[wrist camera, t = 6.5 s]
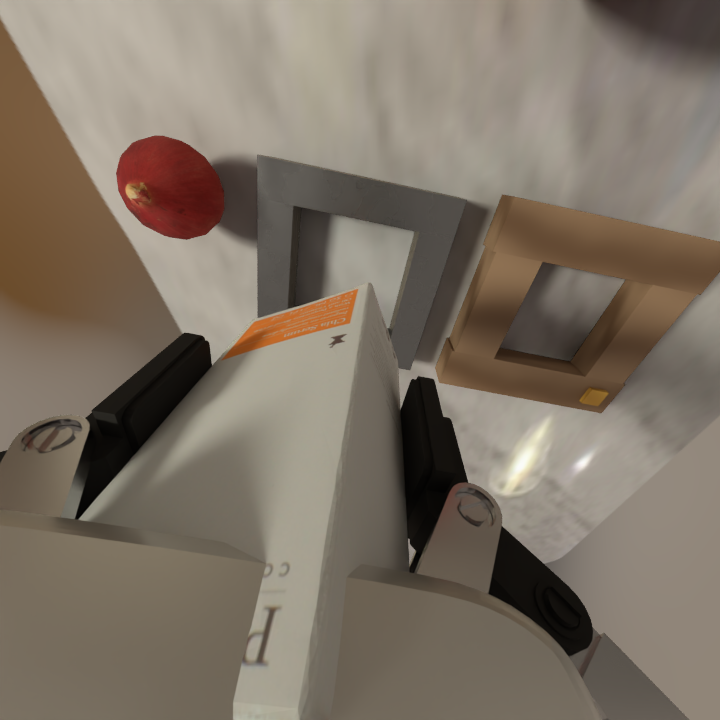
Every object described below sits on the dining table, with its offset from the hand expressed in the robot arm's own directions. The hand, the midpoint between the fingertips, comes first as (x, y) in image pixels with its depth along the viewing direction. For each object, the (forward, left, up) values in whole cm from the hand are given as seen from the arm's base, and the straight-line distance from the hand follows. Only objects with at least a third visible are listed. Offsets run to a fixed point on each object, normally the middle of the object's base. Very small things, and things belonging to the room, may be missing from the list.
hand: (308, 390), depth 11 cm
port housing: (0, +18, -17) cm, 25 cm away
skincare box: (0, 0, -4) cm, 4 cm away
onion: (-4, -12, -17) cm, 21 cm away
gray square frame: (0, 0, -17) cm, 17 cm away
